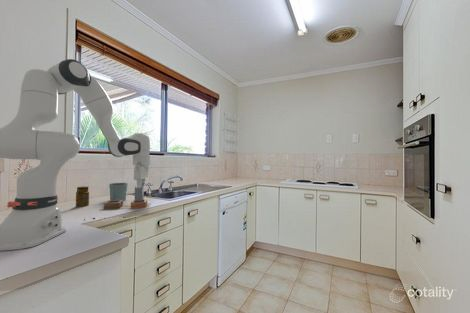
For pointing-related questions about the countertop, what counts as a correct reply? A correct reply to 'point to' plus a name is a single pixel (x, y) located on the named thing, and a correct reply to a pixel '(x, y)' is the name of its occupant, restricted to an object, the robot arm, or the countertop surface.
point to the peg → (139, 194)
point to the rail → (124, 205)
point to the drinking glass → (118, 191)
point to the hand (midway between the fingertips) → (141, 186)
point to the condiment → (82, 196)
